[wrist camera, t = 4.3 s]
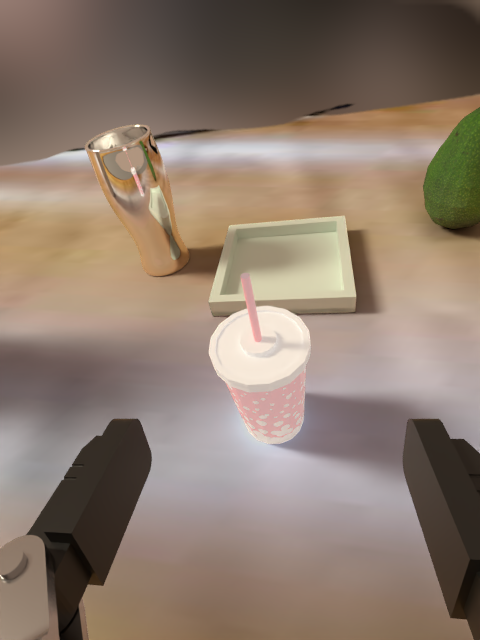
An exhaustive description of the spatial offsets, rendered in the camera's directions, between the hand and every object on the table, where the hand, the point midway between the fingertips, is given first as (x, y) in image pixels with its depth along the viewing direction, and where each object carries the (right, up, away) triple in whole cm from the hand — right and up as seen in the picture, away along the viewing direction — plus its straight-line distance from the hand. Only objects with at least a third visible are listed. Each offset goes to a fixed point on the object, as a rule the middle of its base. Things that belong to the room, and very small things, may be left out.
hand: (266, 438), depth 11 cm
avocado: (+24, +15, +30) cm, 41 cm away
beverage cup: (+2, -4, +17) cm, 17 cm away
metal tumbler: (-10, +11, +34) cm, 37 cm away
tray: (+4, +9, +29) cm, 30 cm away
